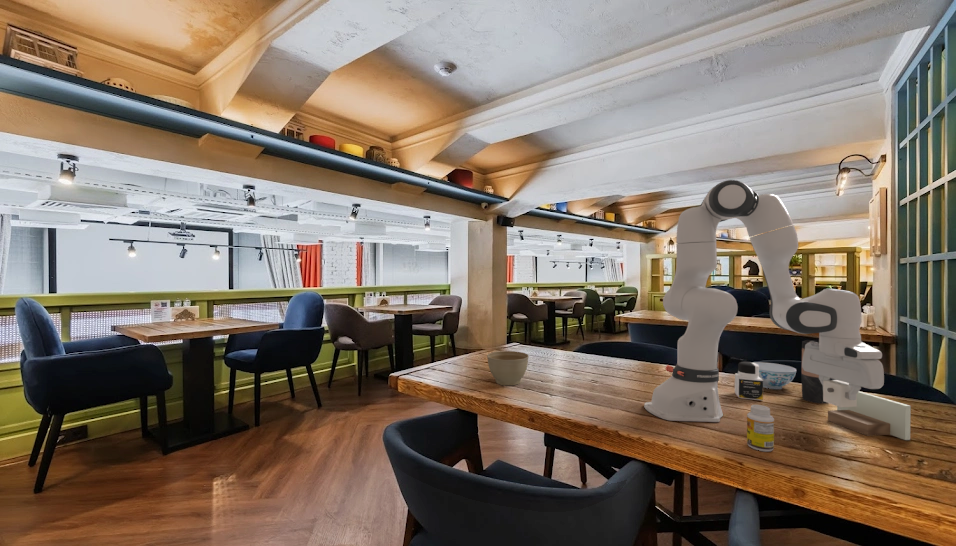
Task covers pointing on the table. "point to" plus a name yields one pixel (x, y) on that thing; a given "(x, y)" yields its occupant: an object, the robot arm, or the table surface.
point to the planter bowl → (507, 366)
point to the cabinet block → (837, 393)
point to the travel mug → (811, 383)
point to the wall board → (884, 413)
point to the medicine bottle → (748, 381)
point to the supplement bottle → (760, 428)
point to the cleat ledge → (859, 422)
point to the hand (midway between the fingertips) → (838, 395)
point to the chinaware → (775, 375)
